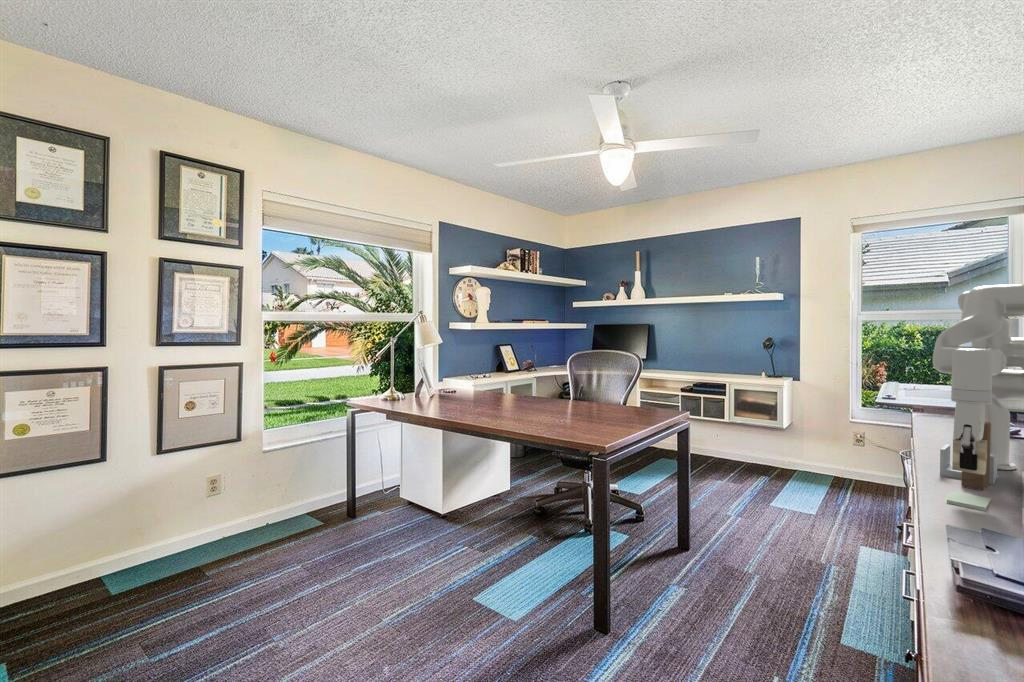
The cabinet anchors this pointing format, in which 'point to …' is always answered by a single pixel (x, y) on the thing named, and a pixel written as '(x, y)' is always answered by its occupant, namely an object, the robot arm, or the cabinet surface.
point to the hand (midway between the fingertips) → (969, 466)
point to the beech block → (980, 452)
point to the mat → (969, 500)
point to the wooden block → (978, 479)
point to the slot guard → (947, 471)
